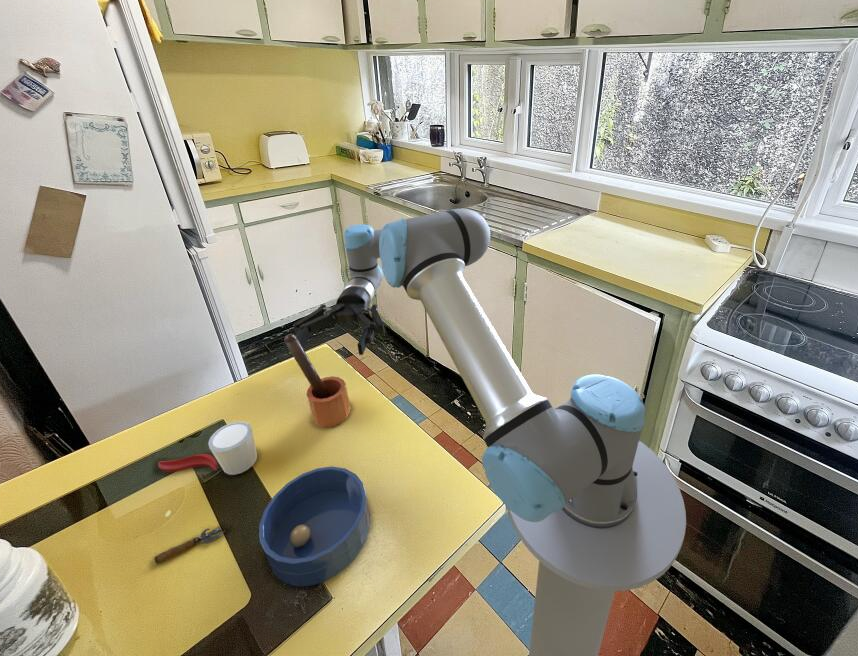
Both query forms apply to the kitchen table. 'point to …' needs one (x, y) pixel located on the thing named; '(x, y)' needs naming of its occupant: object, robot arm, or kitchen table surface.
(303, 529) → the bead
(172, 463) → the cayenne pepper
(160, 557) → the can opener
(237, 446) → the white cup
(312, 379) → the stirring stick
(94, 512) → the kitchen table surface
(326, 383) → the holder
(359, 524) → the bowl
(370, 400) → the kitchen table surface
